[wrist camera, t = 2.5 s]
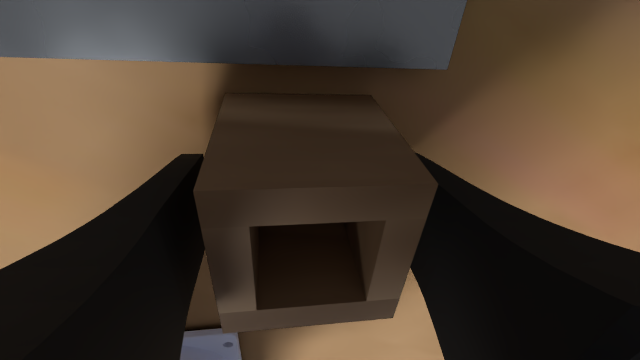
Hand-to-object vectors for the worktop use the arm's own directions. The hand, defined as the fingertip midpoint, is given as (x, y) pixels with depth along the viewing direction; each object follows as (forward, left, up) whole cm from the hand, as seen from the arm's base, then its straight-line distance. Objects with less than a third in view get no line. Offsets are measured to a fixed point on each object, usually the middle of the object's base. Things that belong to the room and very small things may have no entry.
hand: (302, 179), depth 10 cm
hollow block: (0, 0, -1) cm, 1 cm away
